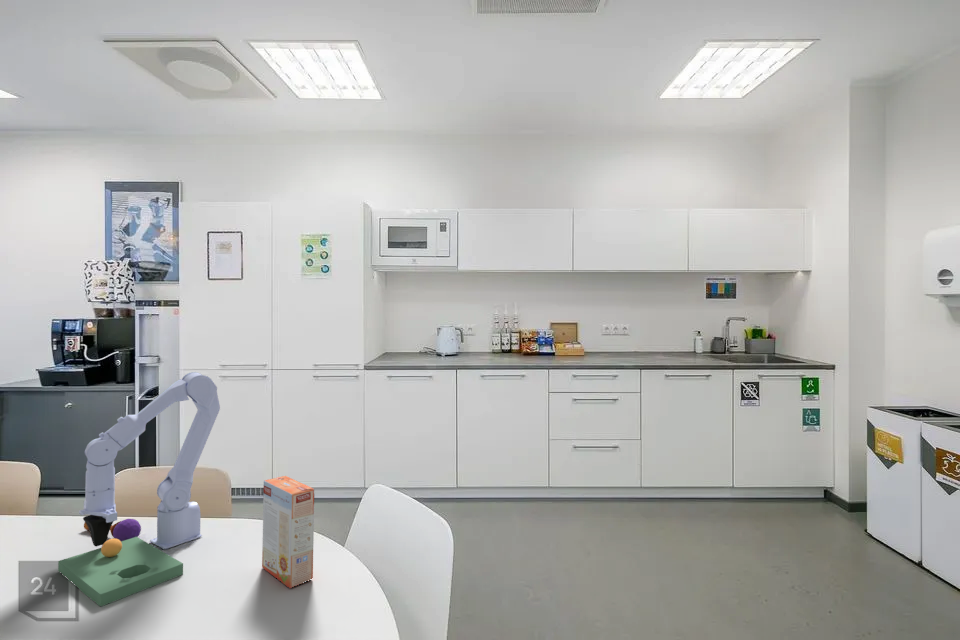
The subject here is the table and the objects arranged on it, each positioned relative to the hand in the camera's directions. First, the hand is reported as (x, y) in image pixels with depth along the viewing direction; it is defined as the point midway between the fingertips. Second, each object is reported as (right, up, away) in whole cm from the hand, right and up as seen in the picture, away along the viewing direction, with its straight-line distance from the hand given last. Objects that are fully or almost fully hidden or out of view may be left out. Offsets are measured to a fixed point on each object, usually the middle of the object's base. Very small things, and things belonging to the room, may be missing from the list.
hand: (99, 544), depth 123 cm
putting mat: (+10, -4, -7) cm, 12 cm away
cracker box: (+48, -4, -6) cm, 48 cm away
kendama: (-6, -4, +12) cm, 14 cm away
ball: (+6, +1, -4) cm, 7 cm away
